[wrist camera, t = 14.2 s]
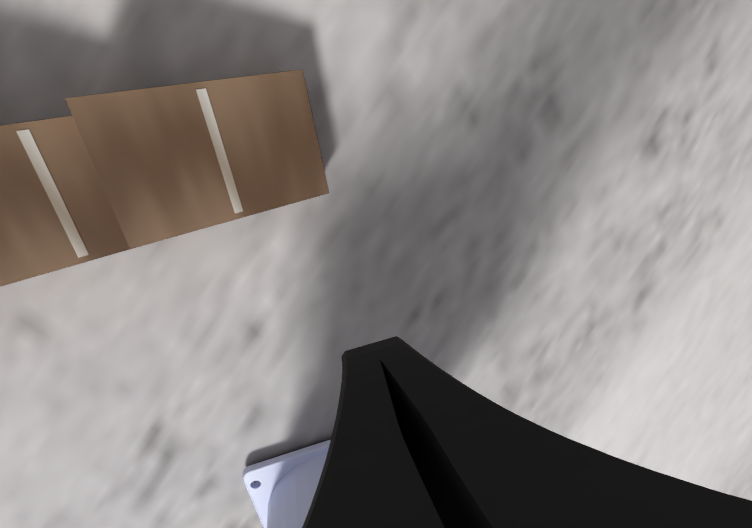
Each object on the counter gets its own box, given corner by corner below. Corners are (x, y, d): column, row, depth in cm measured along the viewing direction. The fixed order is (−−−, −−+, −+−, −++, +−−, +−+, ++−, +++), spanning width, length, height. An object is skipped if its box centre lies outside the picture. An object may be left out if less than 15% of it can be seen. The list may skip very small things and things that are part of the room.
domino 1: (195, 230, 15) (-54, 301, 11) (188, 224, 16) (-37, 286, 13) (150, 104, 13) (-156, 147, 10) (146, 109, 14) (-125, 147, 11)
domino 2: (329, 193, 15) (129, 249, 12) (313, 189, 17) (130, 239, 13) (302, 69, 14) (64, 97, 10) (286, 77, 15) (72, 104, 12)
